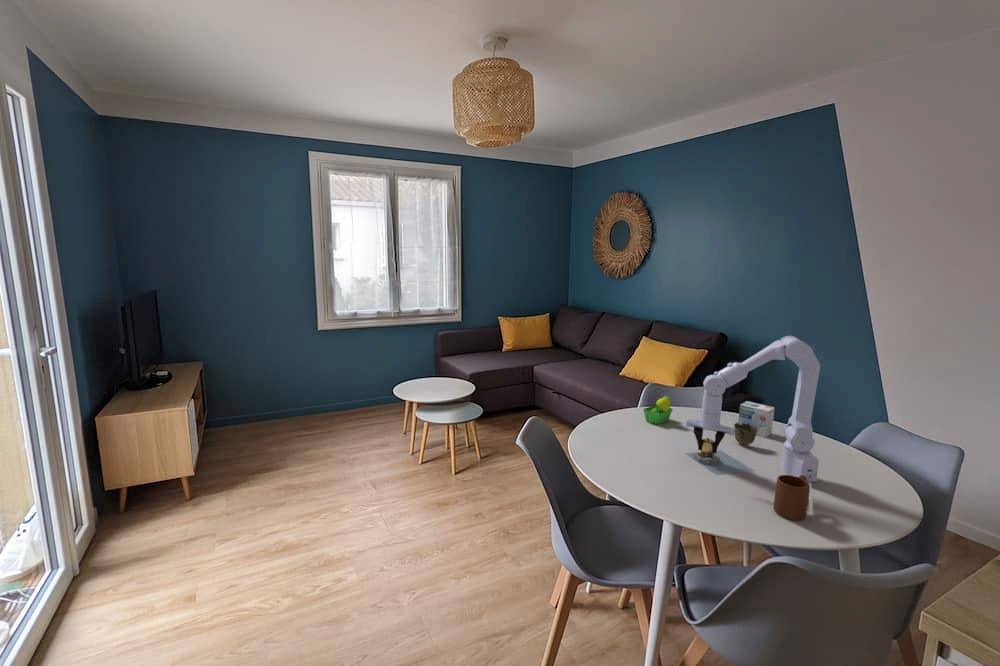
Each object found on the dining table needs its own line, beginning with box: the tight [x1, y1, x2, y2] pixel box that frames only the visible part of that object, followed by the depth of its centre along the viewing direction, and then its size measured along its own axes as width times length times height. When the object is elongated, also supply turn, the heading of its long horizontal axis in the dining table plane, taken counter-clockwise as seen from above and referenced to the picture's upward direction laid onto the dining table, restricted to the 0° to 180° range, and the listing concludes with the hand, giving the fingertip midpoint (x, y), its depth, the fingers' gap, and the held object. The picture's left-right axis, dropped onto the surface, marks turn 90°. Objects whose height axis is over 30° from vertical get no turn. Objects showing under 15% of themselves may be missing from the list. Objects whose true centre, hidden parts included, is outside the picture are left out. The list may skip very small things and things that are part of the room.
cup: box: [733, 422, 758, 447], centre depth 171 cm, size 8×7×8 cm
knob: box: [701, 437, 715, 456], centre depth 157 cm, size 4×4×5 cm
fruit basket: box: [642, 396, 674, 425], centre depth 195 cm, size 11×9×11 cm
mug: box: [773, 474, 811, 521], centre depth 128 cm, size 12×8×9 cm, turn 128°
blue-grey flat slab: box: [685, 449, 755, 476], centre depth 156 cm, size 16×14×2 cm
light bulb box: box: [737, 400, 775, 438], centre depth 185 cm, size 11×7×11 cm, turn 42°
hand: (707, 450), depth 157 cm, fingers closed on knob, 4 cm apart
